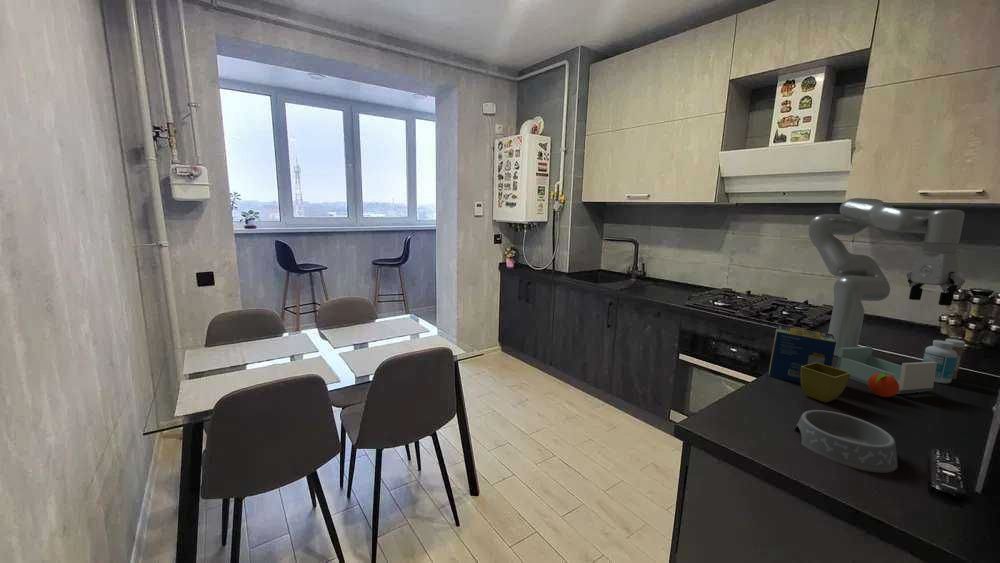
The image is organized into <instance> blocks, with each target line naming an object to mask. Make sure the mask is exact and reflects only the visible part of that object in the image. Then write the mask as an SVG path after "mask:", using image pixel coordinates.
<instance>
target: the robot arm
mask: <svg viewBox="0 0 1000 563" xmlns="http://www.w3.org/2000/svg"><path fill="white" fill-rule="evenodd" d="M839 213H840V214H837V213H824V214H819V215H816V216H815V217H813V218H812V219H811V220H810V222H809V226H808V236H809V239H810V241H811V242H812V244H813V246H814V247H815V249H816V250H817V251H818V252H819V255H820V257H821V258H822V260H823V263H824V265H825V266H826V269H827V270H828V272H829V274H831V275H832V276H834V277H838V279H837V280H836V281H835V282H834V285H833V305H832V309H831V310H832V312H831V317H830V323H829V328H828V332H827V334H832V335H833V336H834V339H835V341H836V346H835V351H834V356H836V357H838V354H839V349H840V348H848V347H859V346H858V345H859V342H860V336H861V331H862V327H863V323H864V322H863V321H864V316H865V309H864V306H863V304H862V302H863V301H864V302H865V301H866V302H881V301H883V300H886V299H887V298H888V297H889V295H890V294H891V285H890V283H889V281H888V279H887V278H886V276H885V274H884V273H883V270H882V269H881V268H880V267H879V264H878V263H877V262H876V260H875V259H874V258H872V257H870V256H869V255H864V254H857V253H856V254H855V253H850V251H848V249H847V248H846V245H845V244H844V242H843V241H841V240H840V239H839V238H837V237H836V235H837V236H852V235H856V234H858V233H860V232H862V231H864V230H865V229H867V228H869V227H870V226H873V227H875V228H877V229H883V230H886V231H891V232H898V233H912V234H913V233H915V234H924V239H923V245H922V246H921V248H922V250H921V252H919V254H918V256H916V259H915V261H914V265H913V268H912V271H911V272H907V273H906V278H907V282H908V286H909V288H910V290H909V291H910V292H909V297H908V299H909V300H913V301H920V300H921V299H922V294H923V288H922V287H924V285H931V286H939V287H940V289H941V290H942V291H941V292H940V295H939V300H938V305H939V306H946V307H947V306H949V307H950V306H952V302H953V298H954V295H955V294H956V293H957V292H958V291H959V290H961V288H962V286H963V285H964V284H965V283H966V279H965V278H963V277H962V276H960V275H958V271H959V255H958V254H957V253H958V250H959V243H960V240H961V235H962V229H963V227H964V226H963V224H964V220H965V216H966V214H965V212H964V211H963V210H962V209H961V210H960V209H934V210H925V209H912V208H910V209H908V208H898V207H897V208H896V207H894V206H893V205H892V204H891V203H890V202H885V201H883V200H881V199H876V198H864V197H862V198H861V197H855V198H850V199H847V200H845V201H844V202H842V203H841V205H840V207H839Z"/></svg>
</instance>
